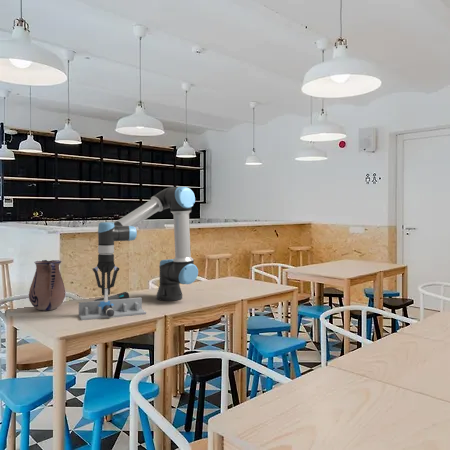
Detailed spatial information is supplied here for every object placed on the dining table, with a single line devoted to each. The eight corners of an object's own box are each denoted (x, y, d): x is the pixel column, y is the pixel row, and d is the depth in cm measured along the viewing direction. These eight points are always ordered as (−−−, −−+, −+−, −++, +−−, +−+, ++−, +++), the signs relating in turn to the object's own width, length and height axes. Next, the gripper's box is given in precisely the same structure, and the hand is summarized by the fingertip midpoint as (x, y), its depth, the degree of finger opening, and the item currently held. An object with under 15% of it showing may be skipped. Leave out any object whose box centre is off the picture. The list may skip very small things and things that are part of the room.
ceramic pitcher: (56, 303, 244) (56, 258, 243) (74, 310, 229) (74, 261, 228) (23, 308, 232) (23, 260, 231) (40, 316, 217) (39, 264, 216)
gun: (132, 304, 242) (126, 288, 240) (97, 320, 234) (90, 303, 232) (130, 303, 246) (124, 286, 244) (96, 318, 238) (89, 301, 236)
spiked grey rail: (141, 309, 232) (141, 297, 231) (146, 314, 223) (146, 301, 222) (78, 315, 218) (78, 302, 218) (81, 320, 209) (81, 306, 209)
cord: (101, 310, 221) (104, 304, 221) (108, 313, 222) (111, 306, 223) (105, 315, 212) (108, 308, 212) (112, 317, 213) (115, 310, 214)
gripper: (117, 252, 225) (117, 299, 225) (91, 253, 219) (91, 301, 220) (121, 254, 218) (120, 302, 219) (93, 254, 212) (93, 304, 213)
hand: (105, 301), depth 219 cm, fingers closed
